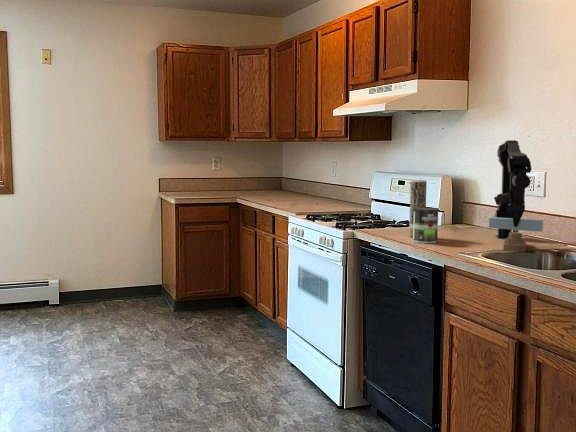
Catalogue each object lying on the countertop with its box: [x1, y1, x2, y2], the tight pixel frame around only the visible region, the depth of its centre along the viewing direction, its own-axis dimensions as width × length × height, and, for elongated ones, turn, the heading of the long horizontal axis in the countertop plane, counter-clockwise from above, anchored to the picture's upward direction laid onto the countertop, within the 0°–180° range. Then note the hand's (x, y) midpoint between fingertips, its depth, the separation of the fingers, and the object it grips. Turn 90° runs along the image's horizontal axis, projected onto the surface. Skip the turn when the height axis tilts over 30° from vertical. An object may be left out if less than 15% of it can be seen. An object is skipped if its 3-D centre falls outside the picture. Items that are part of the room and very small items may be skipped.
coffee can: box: [412, 206, 440, 244], centre depth 266 cm, size 10×10×14 cm
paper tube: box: [409, 179, 427, 238], centre depth 277 cm, size 7×7×25 cm
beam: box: [488, 216, 544, 233], centre depth 252 cm, size 4×20×4 cm, turn 57°
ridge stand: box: [503, 230, 527, 252], centre depth 252 cm, size 18×8×6 cm, turn 160°
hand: (515, 226), depth 252 cm, fingers closed on beam, 4 cm apart
